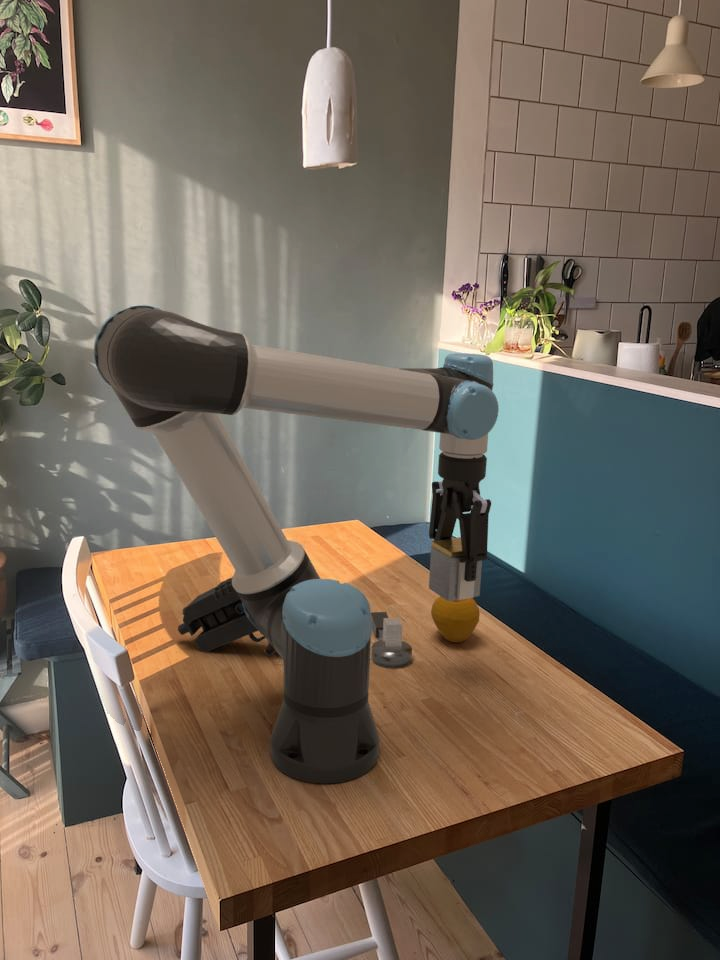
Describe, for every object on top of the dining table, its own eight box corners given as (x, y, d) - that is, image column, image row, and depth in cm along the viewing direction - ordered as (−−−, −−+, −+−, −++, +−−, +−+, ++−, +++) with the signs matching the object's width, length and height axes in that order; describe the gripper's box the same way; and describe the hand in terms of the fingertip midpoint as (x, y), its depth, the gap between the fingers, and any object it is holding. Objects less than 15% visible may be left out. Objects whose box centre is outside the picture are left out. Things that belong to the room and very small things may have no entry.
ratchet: (415, 667, 137) (416, 629, 135) (374, 668, 136) (375, 630, 134) (395, 621, 155) (397, 587, 153) (359, 622, 154) (361, 588, 152)
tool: (295, 648, 136) (252, 572, 135) (203, 687, 142) (161, 614, 140) (304, 633, 142) (264, 560, 140) (216, 671, 148) (176, 601, 146)
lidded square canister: (479, 596, 131) (483, 547, 129) (448, 601, 129) (451, 552, 127) (459, 583, 136) (462, 537, 134) (428, 588, 134) (431, 541, 132)
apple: (420, 633, 150) (422, 588, 148) (459, 625, 154) (462, 581, 152) (446, 653, 142) (449, 606, 140) (488, 644, 146) (491, 598, 144)
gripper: (519, 464, 120) (507, 608, 126) (450, 440, 137) (442, 568, 142) (477, 468, 117) (466, 616, 123) (412, 442, 133) (405, 574, 139)
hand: (453, 590), depth 132 cm, fingers closed on lidded square canister, 6 cm apart
